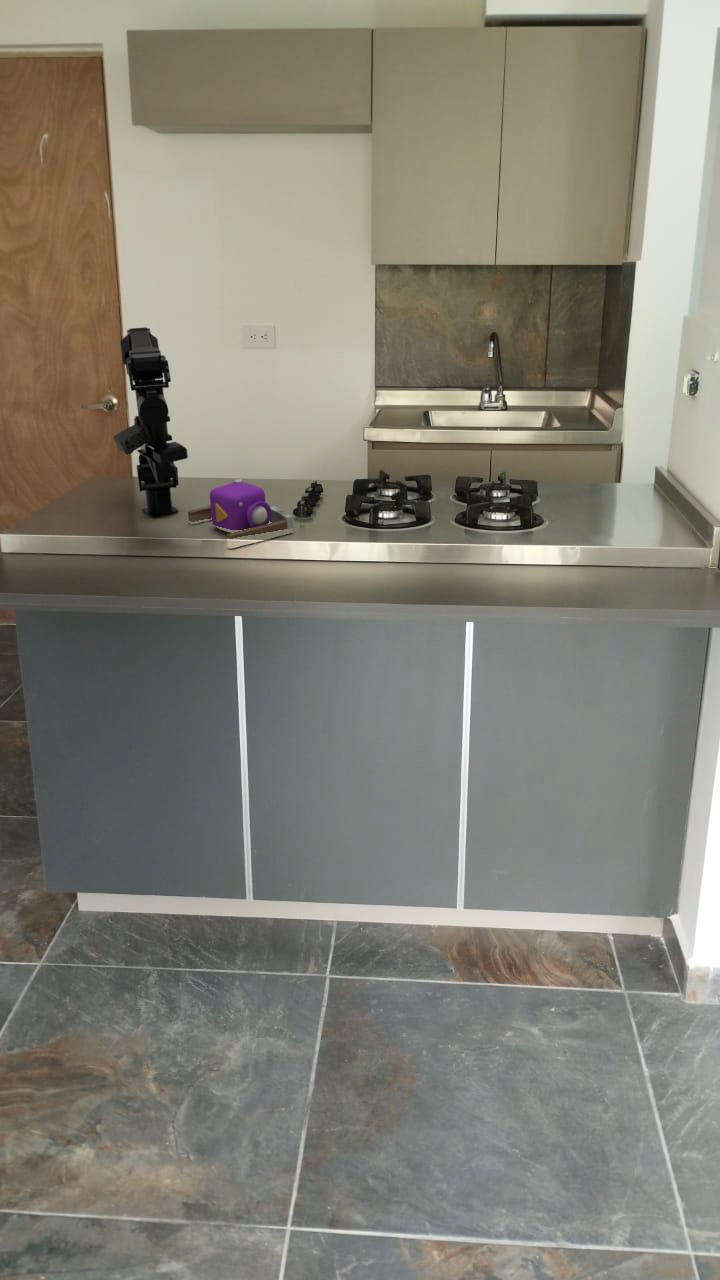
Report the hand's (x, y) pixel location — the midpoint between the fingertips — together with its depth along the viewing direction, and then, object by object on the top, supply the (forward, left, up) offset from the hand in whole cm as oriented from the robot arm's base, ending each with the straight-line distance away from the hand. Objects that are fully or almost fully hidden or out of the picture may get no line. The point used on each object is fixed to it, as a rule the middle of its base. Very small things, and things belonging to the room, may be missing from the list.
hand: (159, 482), depth 233 cm
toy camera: (+9, +15, -12) cm, 21 cm away
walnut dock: (+7, +15, -12) cm, 20 cm away
